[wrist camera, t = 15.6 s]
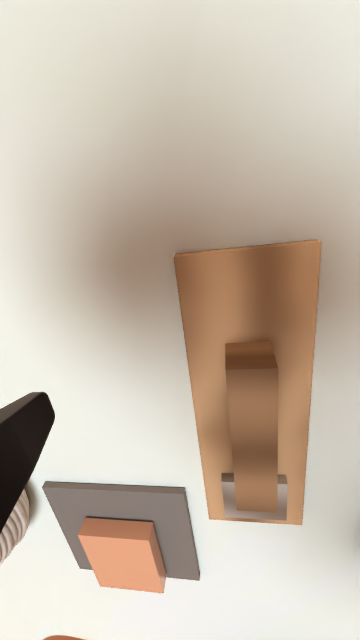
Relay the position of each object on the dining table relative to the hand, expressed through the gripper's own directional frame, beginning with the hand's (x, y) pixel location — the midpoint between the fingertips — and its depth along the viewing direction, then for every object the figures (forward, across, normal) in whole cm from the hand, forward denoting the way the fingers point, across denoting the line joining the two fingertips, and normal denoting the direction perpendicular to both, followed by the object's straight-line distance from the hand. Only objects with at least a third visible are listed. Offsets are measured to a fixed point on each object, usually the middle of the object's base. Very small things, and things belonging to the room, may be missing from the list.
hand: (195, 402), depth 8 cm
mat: (+11, +11, +26) cm, 30 cm away
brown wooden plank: (+10, -2, +12) cm, 16 cm away
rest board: (+11, -2, +10) cm, 15 cm away
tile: (+9, +11, +23) cm, 27 cm away
